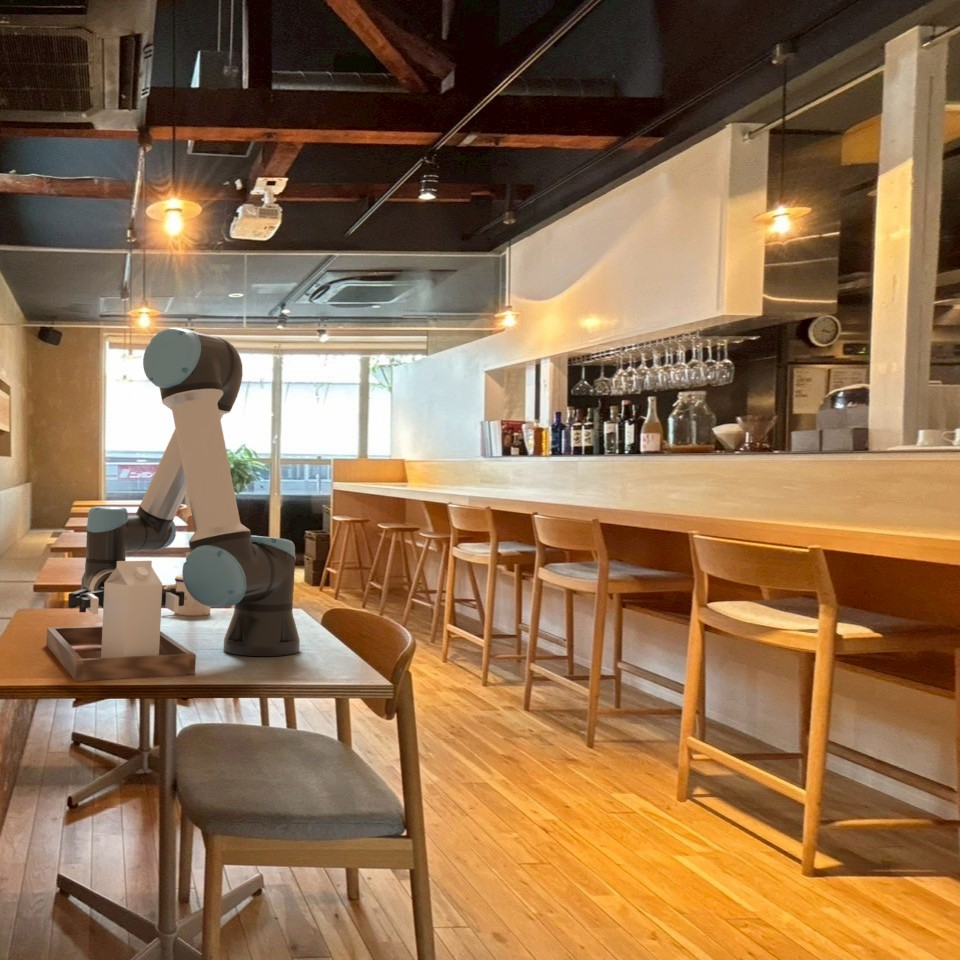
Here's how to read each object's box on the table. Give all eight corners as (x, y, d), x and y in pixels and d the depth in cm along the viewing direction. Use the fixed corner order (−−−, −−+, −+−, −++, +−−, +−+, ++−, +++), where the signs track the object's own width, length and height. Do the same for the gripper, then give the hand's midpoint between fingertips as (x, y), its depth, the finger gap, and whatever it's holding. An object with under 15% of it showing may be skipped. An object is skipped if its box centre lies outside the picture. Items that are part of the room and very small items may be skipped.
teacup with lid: (205, 610, 262) (207, 564, 262) (215, 615, 254) (217, 568, 254) (157, 611, 256) (159, 565, 256) (165, 617, 248) (168, 568, 248)
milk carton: (100, 667, 182) (105, 560, 183) (134, 663, 188) (139, 559, 188) (124, 672, 178) (129, 562, 178) (158, 668, 183) (163, 561, 184)
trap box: (149, 641, 213) (150, 624, 213) (195, 674, 182) (195, 654, 182) (46, 645, 203) (47, 627, 203) (75, 681, 172) (76, 660, 172)
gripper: (178, 608, 204) (207, 624, 186) (42, 611, 191) (59, 629, 173) (180, 570, 204) (209, 583, 186) (44, 571, 191) (61, 584, 173)
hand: (137, 605), depth 179 cm, fingers open, 13 cm apart
